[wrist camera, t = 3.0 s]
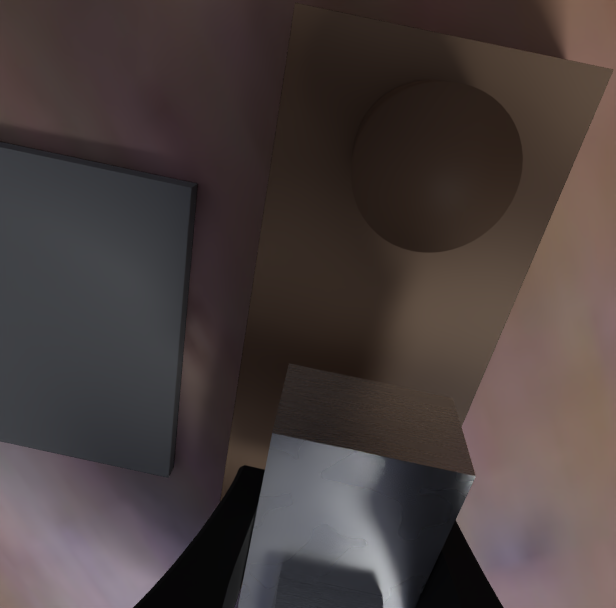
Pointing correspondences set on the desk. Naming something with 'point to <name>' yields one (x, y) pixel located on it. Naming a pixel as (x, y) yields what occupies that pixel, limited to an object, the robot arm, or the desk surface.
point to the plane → (401, 208)
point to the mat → (92, 307)
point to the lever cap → (354, 494)
